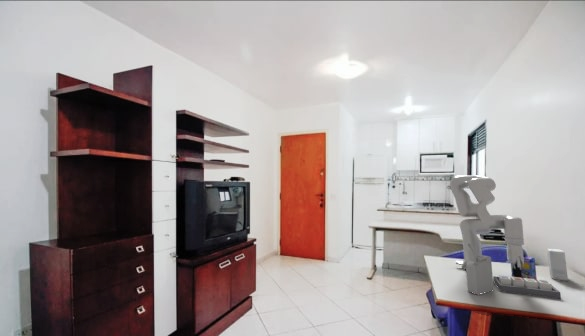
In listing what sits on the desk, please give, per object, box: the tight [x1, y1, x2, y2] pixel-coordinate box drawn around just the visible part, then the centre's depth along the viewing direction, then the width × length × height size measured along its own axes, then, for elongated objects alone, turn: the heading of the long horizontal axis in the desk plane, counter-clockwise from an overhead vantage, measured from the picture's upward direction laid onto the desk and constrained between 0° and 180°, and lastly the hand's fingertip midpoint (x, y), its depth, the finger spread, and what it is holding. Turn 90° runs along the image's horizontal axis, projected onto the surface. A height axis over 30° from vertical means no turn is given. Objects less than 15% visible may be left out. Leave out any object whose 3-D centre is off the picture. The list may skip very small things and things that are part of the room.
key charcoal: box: [535, 278, 553, 290], centre depth 131 cm, size 4×5×3 cm
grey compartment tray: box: [492, 275, 562, 300], centre depth 134 cm, size 23×14×3 cm, turn 63°
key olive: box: [523, 278, 538, 288], centre depth 133 cm, size 4×5×3 cm
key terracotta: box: [510, 276, 525, 287], centre depth 136 cm, size 4×5×3 cm
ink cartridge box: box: [510, 252, 538, 281], centre depth 150 cm, size 10×6×14 cm, turn 29°
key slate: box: [498, 275, 511, 285], centre depth 138 cm, size 4×5×3 cm
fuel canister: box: [465, 244, 494, 295], centre depth 134 cm, size 15×5×25 cm, turn 113°
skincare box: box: [546, 248, 569, 282], centre depth 149 cm, size 8×7×16 cm
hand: (517, 276), depth 136 cm, fingers closed
